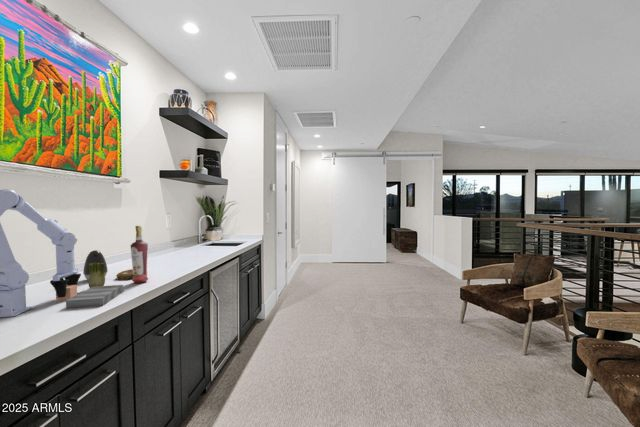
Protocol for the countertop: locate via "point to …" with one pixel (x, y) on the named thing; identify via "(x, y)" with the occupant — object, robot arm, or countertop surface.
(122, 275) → the decorative rock
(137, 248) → the liquor
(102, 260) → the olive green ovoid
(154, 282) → the countertop surface
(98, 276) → the fennel bulb
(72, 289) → the terracotta block
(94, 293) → the charcoal board
